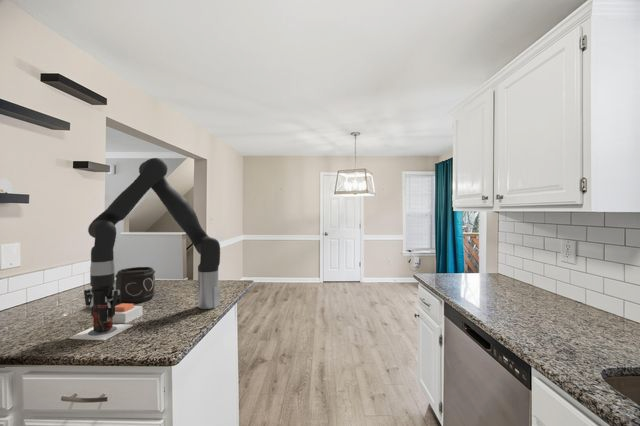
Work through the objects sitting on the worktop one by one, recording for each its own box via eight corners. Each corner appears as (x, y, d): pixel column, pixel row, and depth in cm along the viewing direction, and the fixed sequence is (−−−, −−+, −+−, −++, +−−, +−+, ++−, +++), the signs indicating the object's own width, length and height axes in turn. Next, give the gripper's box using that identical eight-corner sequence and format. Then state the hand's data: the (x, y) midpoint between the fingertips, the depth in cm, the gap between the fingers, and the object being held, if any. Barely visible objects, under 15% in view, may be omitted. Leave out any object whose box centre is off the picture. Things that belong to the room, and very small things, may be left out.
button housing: (142, 315, 134) (142, 306, 134) (125, 323, 124) (125, 313, 124) (121, 314, 135) (121, 305, 135) (103, 322, 125) (103, 312, 125)
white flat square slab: (133, 325, 122) (133, 324, 122) (104, 340, 108) (104, 339, 108) (101, 324, 123) (101, 323, 123) (69, 338, 109) (69, 337, 109)
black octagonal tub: (163, 297, 161) (163, 268, 161) (127, 306, 146) (126, 274, 146) (145, 293, 171) (145, 265, 171) (109, 301, 156) (109, 270, 156)
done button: (133, 310, 132) (133, 303, 132) (124, 314, 127) (124, 307, 127) (122, 310, 133) (122, 303, 133) (113, 314, 128) (113, 307, 127)
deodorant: (99, 325, 118) (99, 287, 118) (116, 325, 119) (115, 287, 119) (89, 331, 112) (89, 291, 112) (106, 331, 113) (106, 291, 113)
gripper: (127, 271, 118) (127, 314, 118) (94, 270, 120) (94, 312, 120) (111, 275, 111) (112, 321, 111) (76, 274, 113) (77, 319, 113)
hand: (103, 316), depth 116 cm, fingers open, 6 cm apart
